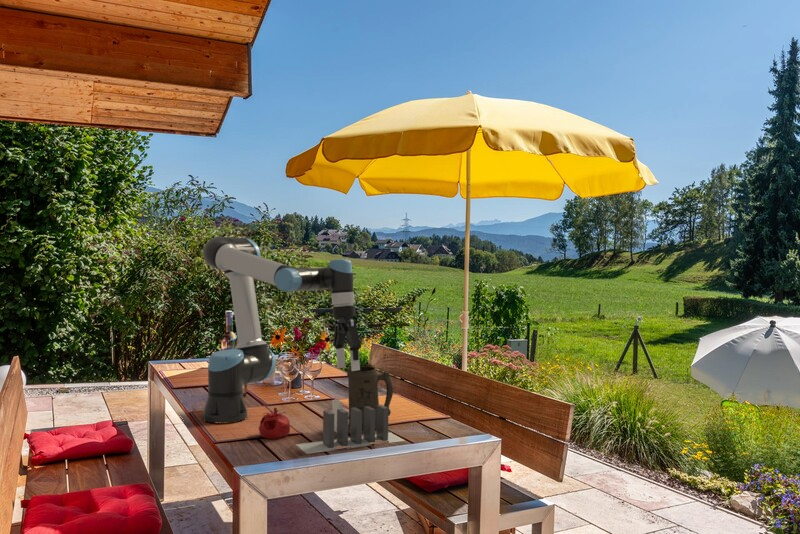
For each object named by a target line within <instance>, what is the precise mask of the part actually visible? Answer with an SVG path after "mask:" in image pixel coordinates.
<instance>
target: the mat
mask: <svg viewBox="0 0 800 534" xmlns="http://www.w3.org/2000/svg"><path fill="white" fill-rule="evenodd" d="M375 440H381V439H379V438H378V437H376V433H375ZM382 441H383V440H382ZM386 441H389V443H388V444H391V443H397V442H405V441H406V440H405V439H403V438H401V437H399V436H397V434H393V433H392V432H388V440H386ZM369 443H370V442H368V441H367V440H365V439H364V438H363V435H362V444H355V443H354V442H352V441H351V440H350V437H348V446H349V448H348V449H353V448H361V447H369ZM295 445H296V446H297V447H298V448H299V449H301V451H303V452H304V453H305V454H307V455H308V454H309V455H310V454H316V453H323V452H324V453H325V452H332V450H333V451H335V450H334V449H335V448H337V447H336V446H342V445H340V444H339V443H338V442H337V438H336V439H335V438H334V447H335V448H334V447H333V448H328V447H327V446H325V445H324V444H323V440H322V441H312V442H303V443H296V444H295ZM342 447H343V446H342ZM346 447H347V446H346ZM350 447H351V448H350Z"/></svg>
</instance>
